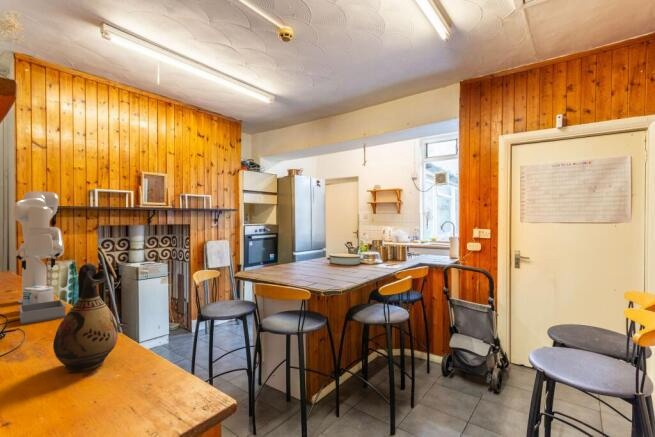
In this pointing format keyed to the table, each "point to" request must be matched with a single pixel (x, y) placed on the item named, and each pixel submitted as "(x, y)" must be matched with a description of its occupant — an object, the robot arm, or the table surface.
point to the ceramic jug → (86, 326)
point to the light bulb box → (37, 294)
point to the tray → (41, 312)
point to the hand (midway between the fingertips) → (38, 268)
